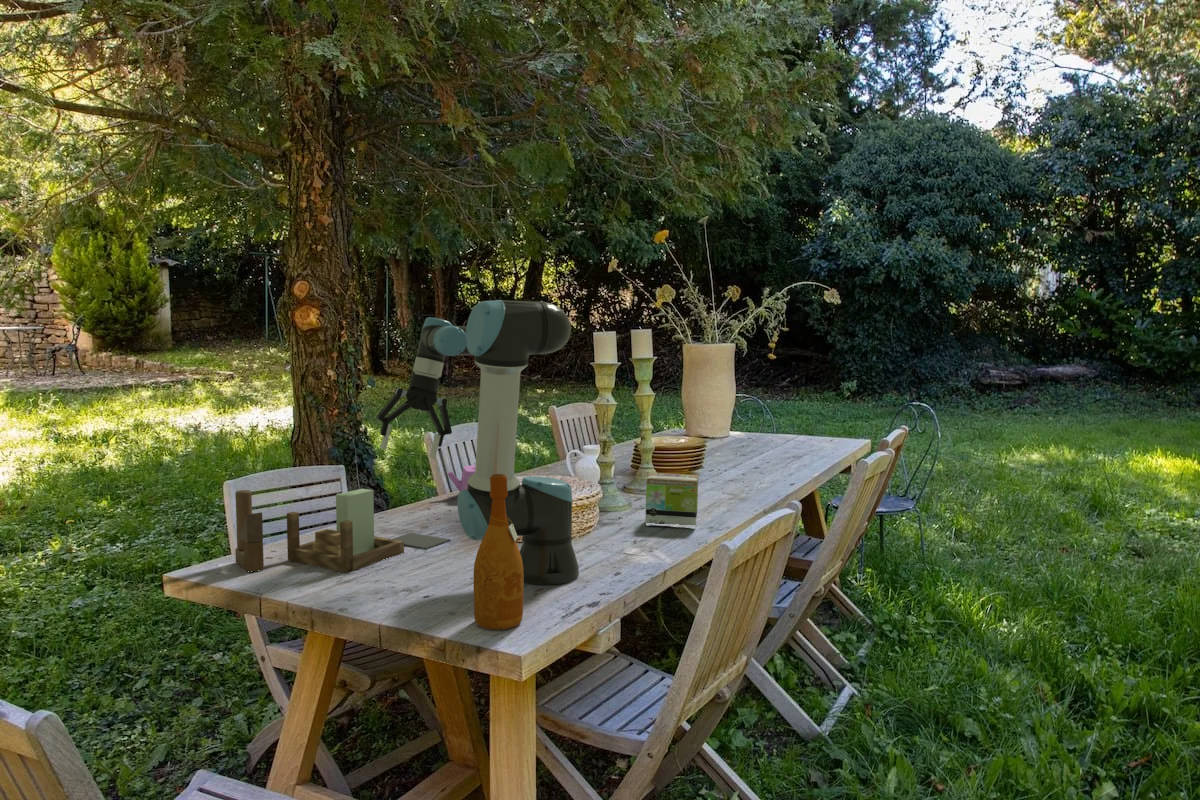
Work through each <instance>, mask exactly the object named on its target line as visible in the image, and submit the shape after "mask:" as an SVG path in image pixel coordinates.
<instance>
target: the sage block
mask: <svg viewBox="0 0 1200 800" xmlns="http://www.w3.org/2000/svg"><path fill="white" fill-rule="evenodd" d="M374 498H375V497H374V490H373V489H367V488H360V489H359V488H358V489H354V490H350V491H345V492H343V493H337V494H335V514H336V518H335V519H336V521H335V522H336V524H335V525H336V531H339V532H340V522H342V521H346V520H347V521H352V525H353V556H354V555H357V554H360V553H363V552H366V551H369V550H372V549H374V536H375V509H374V507H375V506H374V505H375V504H374Z"/></svg>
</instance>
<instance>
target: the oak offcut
mask: <svg viewBox="0 0 1200 800" xmlns="http://www.w3.org/2000/svg"><path fill="white" fill-rule="evenodd" d="M312 542H313V541H312ZM313 551H316V552H321V553H326V554H331V555H336V556H341V549H340V545H339V546H331V545H326V544H321V543H316V542H313Z"/></svg>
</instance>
